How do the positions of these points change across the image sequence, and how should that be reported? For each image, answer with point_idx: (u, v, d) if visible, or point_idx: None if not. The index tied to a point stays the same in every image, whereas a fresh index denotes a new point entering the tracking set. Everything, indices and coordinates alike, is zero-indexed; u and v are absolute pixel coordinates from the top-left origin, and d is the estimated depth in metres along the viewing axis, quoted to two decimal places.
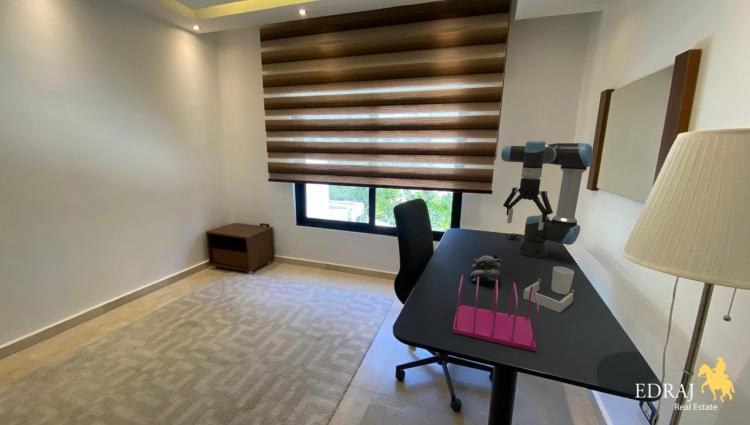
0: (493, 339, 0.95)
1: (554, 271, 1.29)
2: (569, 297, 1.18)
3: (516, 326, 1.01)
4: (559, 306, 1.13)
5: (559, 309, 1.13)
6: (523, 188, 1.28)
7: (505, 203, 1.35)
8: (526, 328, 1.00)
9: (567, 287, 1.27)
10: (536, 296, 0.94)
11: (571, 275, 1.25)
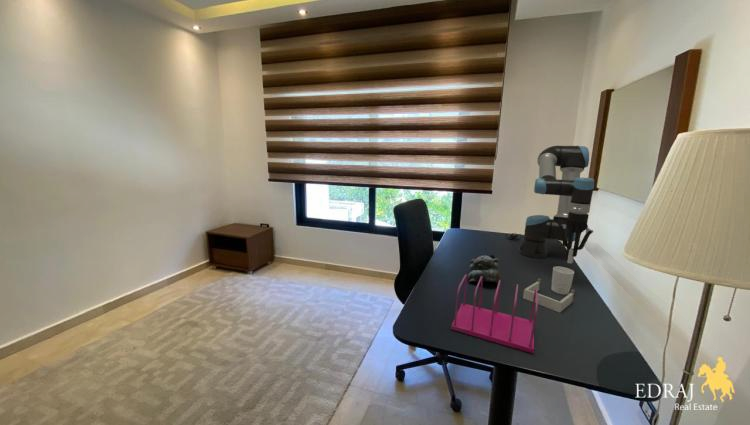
0: (491, 338, 0.95)
1: (554, 271, 1.29)
2: (569, 297, 1.18)
3: (518, 328, 1.00)
4: (559, 306, 1.13)
5: (559, 309, 1.13)
6: (570, 222, 1.34)
7: (563, 242, 1.37)
8: (528, 330, 0.99)
9: (567, 287, 1.27)
10: (537, 298, 0.93)
11: (571, 275, 1.25)
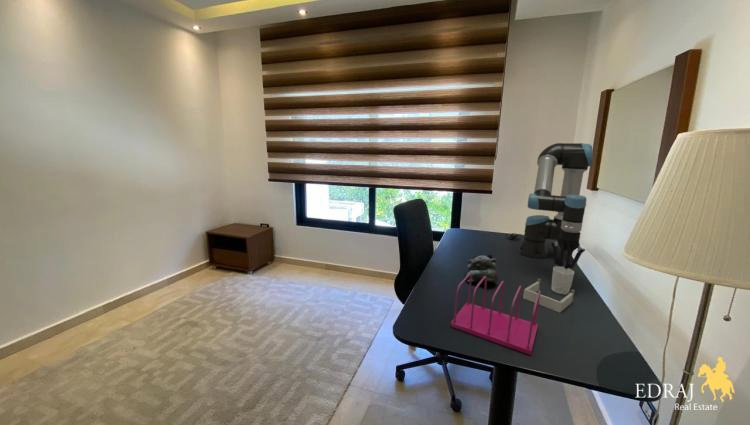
0: (489, 337, 0.95)
1: (554, 271, 1.29)
2: (569, 297, 1.18)
3: (519, 329, 0.99)
4: (559, 306, 1.13)
5: (559, 309, 1.13)
6: (562, 240, 1.31)
7: (555, 260, 1.34)
8: None
9: (567, 287, 1.27)
10: (537, 300, 0.91)
11: (571, 275, 1.25)
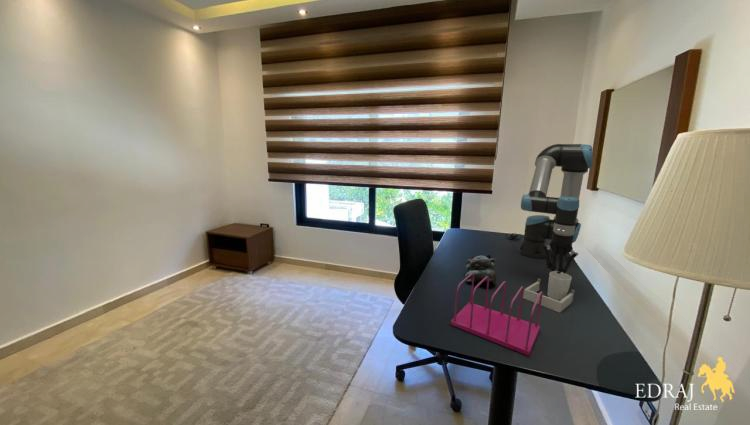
0: (487, 337, 0.96)
1: (554, 278, 1.21)
2: (569, 297, 1.18)
3: (519, 330, 0.99)
4: (559, 306, 1.13)
5: (559, 309, 1.13)
6: (555, 243, 1.26)
7: (548, 264, 1.29)
8: (530, 334, 0.97)
9: (566, 293, 1.22)
10: (537, 300, 0.91)
11: (570, 280, 1.20)
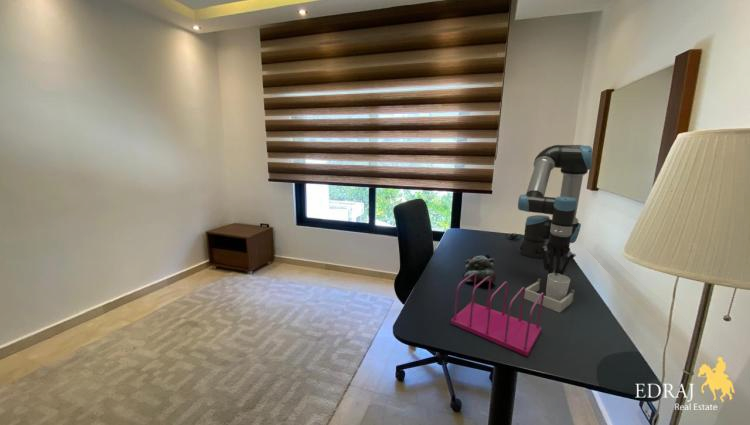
0: (487, 336, 0.96)
1: (553, 282, 1.18)
2: (569, 297, 1.18)
3: (520, 331, 0.98)
4: (559, 306, 1.13)
5: (559, 309, 1.13)
6: (552, 244, 1.24)
7: (545, 266, 1.27)
8: (530, 335, 0.96)
9: (565, 295, 1.20)
10: (536, 301, 0.90)
11: (569, 282, 1.18)
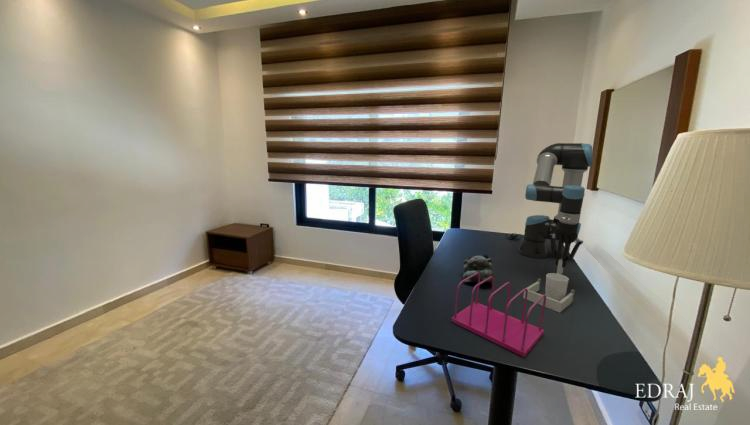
0: (485, 335, 0.96)
1: (552, 280, 1.19)
2: (569, 297, 1.18)
3: (520, 332, 0.98)
4: (559, 306, 1.13)
5: (559, 309, 1.13)
6: (560, 231, 1.28)
7: (553, 252, 1.31)
8: (531, 337, 0.95)
9: (565, 294, 1.20)
10: (536, 302, 0.90)
11: None
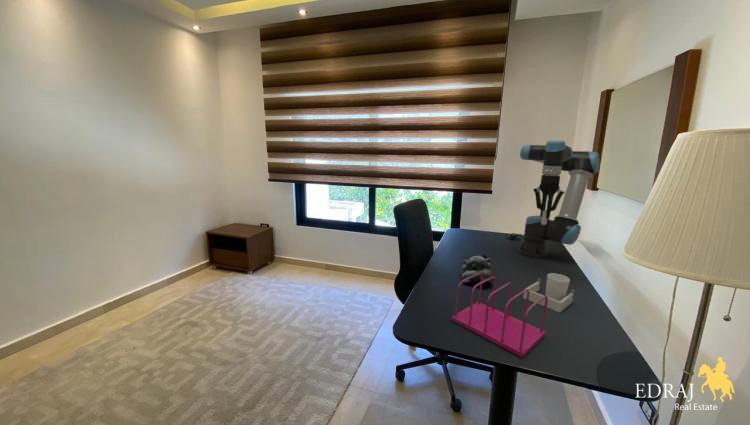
0: (484, 335, 0.97)
1: (553, 281, 1.19)
2: (569, 297, 1.18)
3: (521, 333, 0.97)
4: (559, 306, 1.13)
5: (559, 309, 1.13)
6: (544, 184, 1.39)
7: (537, 205, 1.42)
8: (531, 338, 0.95)
9: (565, 295, 1.20)
10: (535, 303, 0.89)
11: None
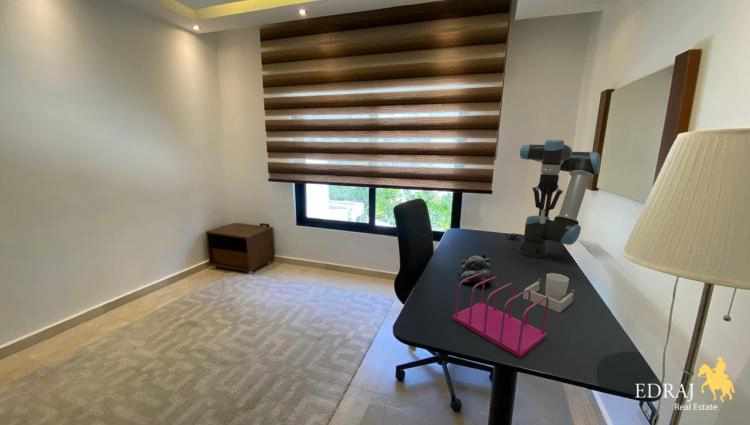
0: (483, 334, 0.97)
1: (553, 281, 1.19)
2: (569, 297, 1.18)
3: None
4: (559, 306, 1.13)
5: (559, 309, 1.13)
6: (542, 183, 1.40)
7: (536, 204, 1.43)
8: (531, 339, 0.94)
9: (565, 294, 1.20)
10: (534, 304, 0.89)
11: (568, 281, 1.19)
